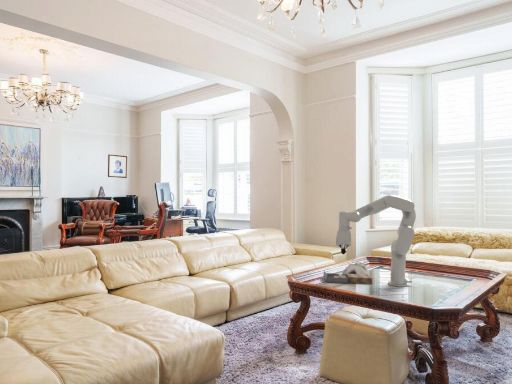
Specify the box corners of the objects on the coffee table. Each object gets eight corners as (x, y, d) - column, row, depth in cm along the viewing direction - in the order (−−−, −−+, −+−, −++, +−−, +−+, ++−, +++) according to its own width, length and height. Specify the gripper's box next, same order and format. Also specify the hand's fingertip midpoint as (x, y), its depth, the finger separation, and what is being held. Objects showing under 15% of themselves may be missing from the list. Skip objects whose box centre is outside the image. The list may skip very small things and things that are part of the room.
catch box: (343, 278, 279) (344, 271, 279) (348, 283, 265) (348, 275, 265) (323, 277, 280) (323, 270, 280) (326, 282, 266) (326, 275, 266)
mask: (373, 260, 311) (365, 266, 284) (372, 271, 311) (365, 278, 284) (348, 258, 320) (339, 263, 294) (348, 268, 320) (338, 275, 294)
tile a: (340, 272, 275) (338, 274, 275) (341, 274, 269) (339, 276, 269) (344, 276, 275) (342, 278, 275) (346, 278, 269) (344, 280, 269)
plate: (367, 280, 278) (367, 274, 278) (372, 283, 266) (372, 278, 266) (345, 279, 278) (345, 273, 278) (349, 282, 266) (349, 277, 266)
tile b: (333, 276, 275) (333, 278, 275) (335, 277, 269) (335, 280, 269) (339, 276, 275) (339, 279, 275) (341, 278, 269) (341, 280, 269)
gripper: (353, 228, 276) (352, 253, 276) (332, 227, 277) (331, 252, 276) (355, 229, 269) (355, 255, 269) (334, 228, 269) (333, 254, 269)
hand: (343, 254), depth 273 cm, fingers closed
